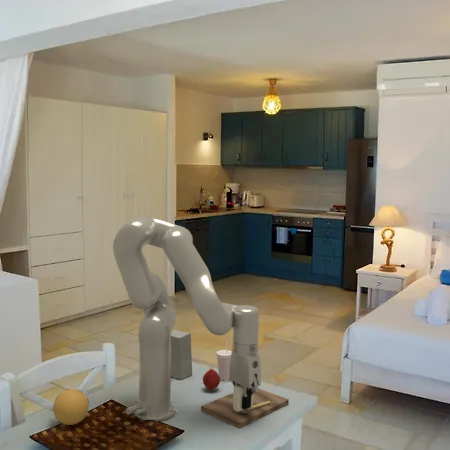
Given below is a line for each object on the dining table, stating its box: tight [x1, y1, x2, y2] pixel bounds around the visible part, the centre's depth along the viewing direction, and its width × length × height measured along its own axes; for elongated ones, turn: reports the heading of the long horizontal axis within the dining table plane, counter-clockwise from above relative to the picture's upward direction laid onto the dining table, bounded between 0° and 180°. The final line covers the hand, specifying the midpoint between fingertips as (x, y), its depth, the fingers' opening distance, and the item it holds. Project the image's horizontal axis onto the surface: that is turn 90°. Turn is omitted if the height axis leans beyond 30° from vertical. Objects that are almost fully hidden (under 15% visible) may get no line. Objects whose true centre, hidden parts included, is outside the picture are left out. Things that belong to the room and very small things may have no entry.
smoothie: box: [215, 340, 232, 381], centre depth 196 cm, size 6×6×14 cm
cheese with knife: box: [233, 385, 271, 414], centre depth 168 cm, size 14×3×8 cm, turn 128°
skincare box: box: [171, 329, 193, 380], centre depth 198 cm, size 8×7×16 cm
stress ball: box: [52, 388, 90, 426], centre depth 158 cm, size 10×10×10 cm
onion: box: [202, 367, 221, 391], centre depth 186 cm, size 6×6×8 cm
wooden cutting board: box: [200, 388, 290, 429], centre depth 173 cm, size 24×16×2 cm, turn 138°
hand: (243, 405), depth 166 cm, fingers closed on cheese with knife, 2 cm apart
